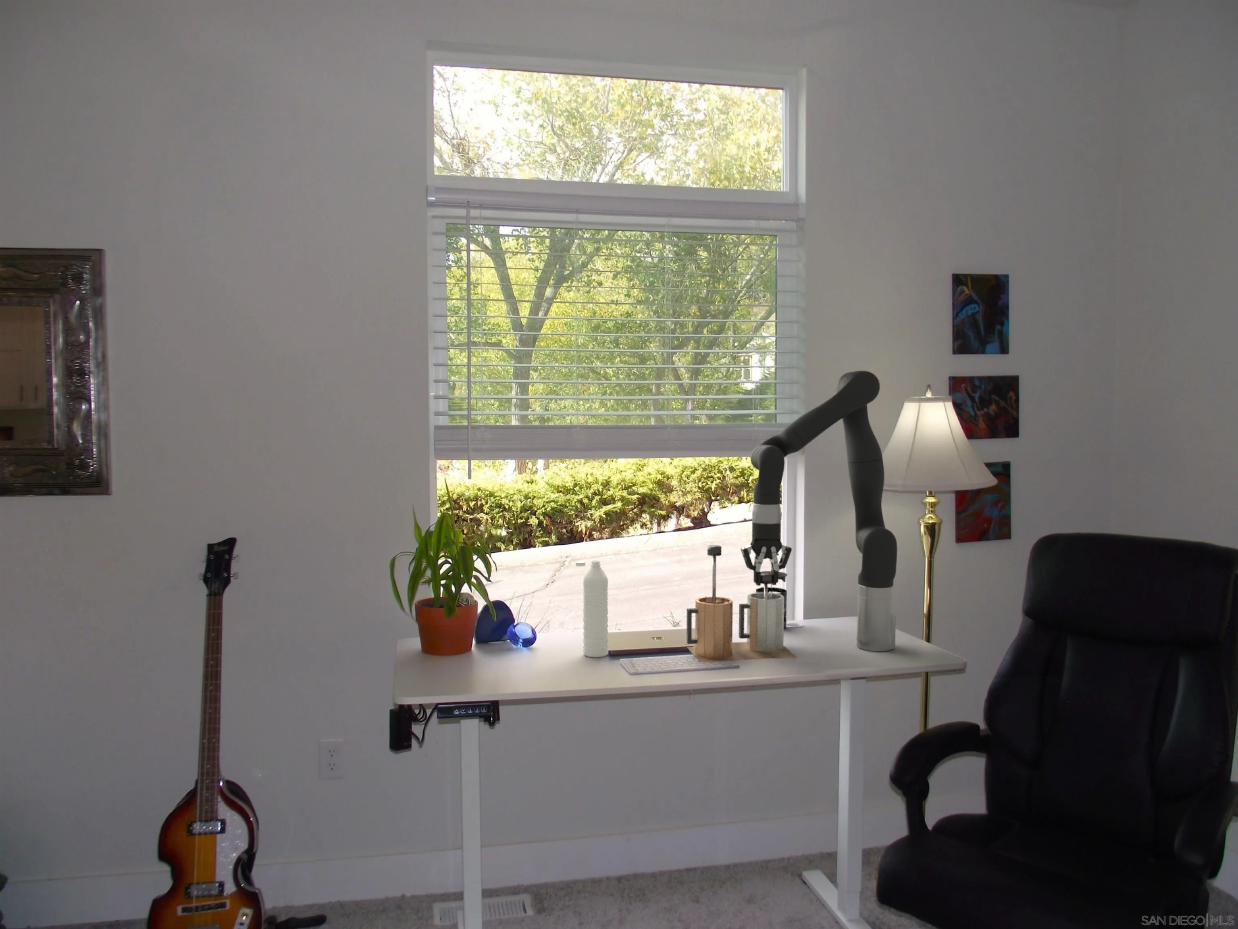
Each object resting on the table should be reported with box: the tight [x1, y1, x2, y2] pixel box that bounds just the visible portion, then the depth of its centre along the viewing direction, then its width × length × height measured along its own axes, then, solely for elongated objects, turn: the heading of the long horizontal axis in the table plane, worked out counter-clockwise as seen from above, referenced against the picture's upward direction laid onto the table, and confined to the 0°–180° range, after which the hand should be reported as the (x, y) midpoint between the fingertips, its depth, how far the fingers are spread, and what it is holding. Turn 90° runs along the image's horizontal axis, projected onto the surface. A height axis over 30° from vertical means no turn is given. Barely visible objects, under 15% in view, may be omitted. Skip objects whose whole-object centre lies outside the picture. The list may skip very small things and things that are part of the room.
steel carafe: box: [738, 592, 785, 653], centre depth 232 cm, size 12×9×14 cm
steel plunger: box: [761, 573, 773, 599], centre depth 231 cm, size 7×7×16 cm
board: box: [686, 641, 798, 663], centre depth 230 cm, size 26×16×1 cm, turn 99°
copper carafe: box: [686, 596, 734, 659], centre depth 226 cm, size 12×9×14 cm
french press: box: [755, 553, 788, 630], centre depth 255 cm, size 12×9×23 cm
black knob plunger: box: [706, 544, 722, 604], centre depth 226 cm, size 7×7×16 cm
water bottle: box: [575, 560, 609, 658], centre depth 229 cm, size 9×6×25 cm
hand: (765, 584), depth 231 cm, fingers open, 3 cm apart
